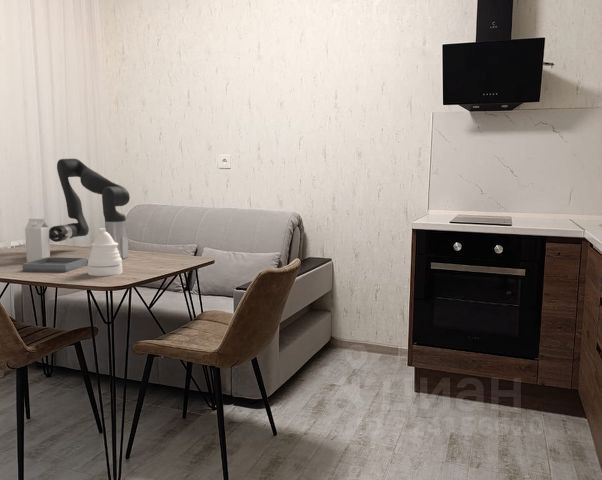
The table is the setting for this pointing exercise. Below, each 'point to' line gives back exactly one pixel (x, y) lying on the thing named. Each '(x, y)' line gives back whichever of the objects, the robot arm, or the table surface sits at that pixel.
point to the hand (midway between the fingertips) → (41, 236)
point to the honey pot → (104, 256)
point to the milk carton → (37, 240)
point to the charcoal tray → (54, 264)
